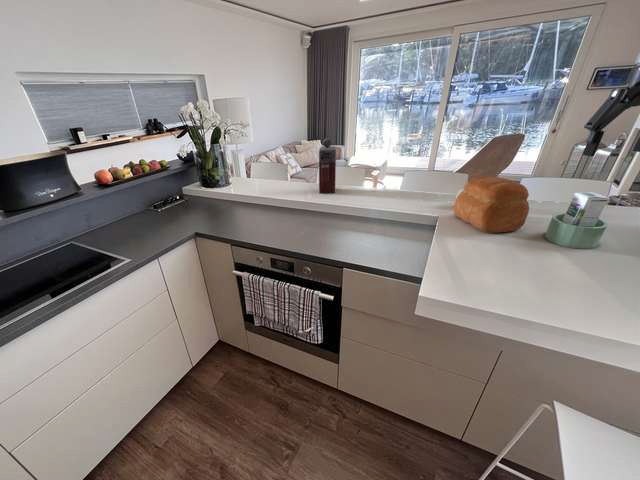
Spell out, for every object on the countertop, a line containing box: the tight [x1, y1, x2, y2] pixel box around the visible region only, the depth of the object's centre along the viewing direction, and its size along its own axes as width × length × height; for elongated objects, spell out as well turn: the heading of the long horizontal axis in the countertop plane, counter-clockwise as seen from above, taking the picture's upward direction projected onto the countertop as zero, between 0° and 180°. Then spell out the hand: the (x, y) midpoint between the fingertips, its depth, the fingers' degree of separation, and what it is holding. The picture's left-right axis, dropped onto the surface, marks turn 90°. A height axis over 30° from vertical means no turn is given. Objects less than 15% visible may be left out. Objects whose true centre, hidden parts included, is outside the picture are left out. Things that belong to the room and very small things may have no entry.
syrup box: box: [562, 191, 610, 227], centre depth 91 cm, size 6×6×14 cm
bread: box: [453, 175, 530, 234], centre depth 107 cm, size 18×21×17 cm
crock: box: [544, 212, 609, 250], centre depth 93 cm, size 13×13×7 cm
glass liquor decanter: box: [318, 138, 337, 195], centre depth 156 cm, size 9×11×28 cm
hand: (613, 153), depth 82 cm, fingers open, 13 cm apart
